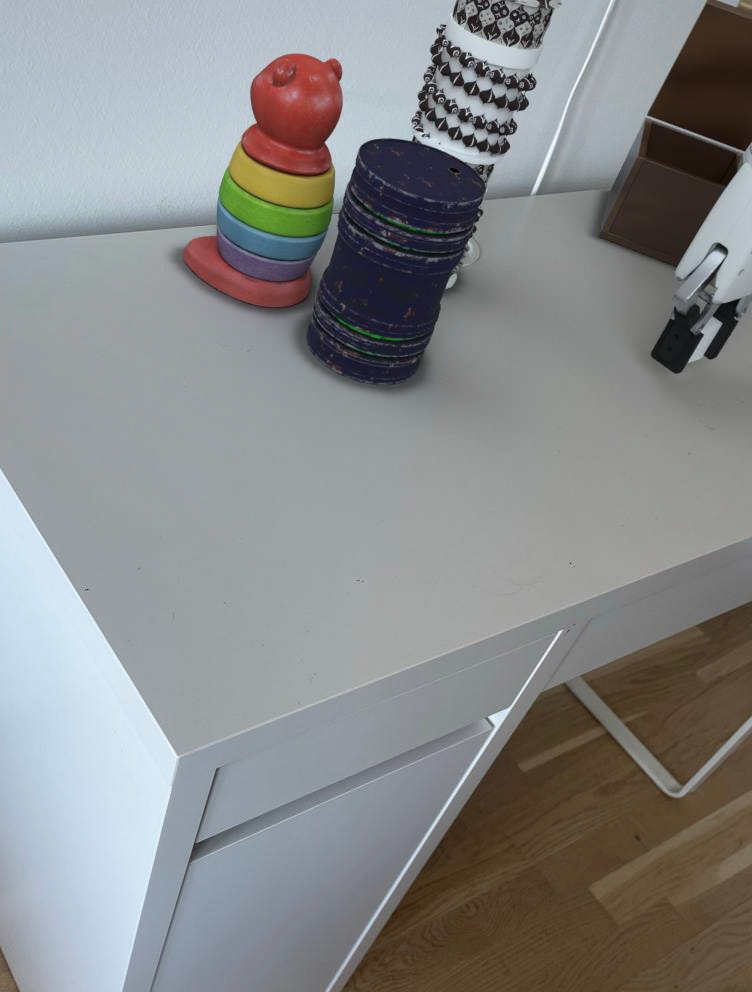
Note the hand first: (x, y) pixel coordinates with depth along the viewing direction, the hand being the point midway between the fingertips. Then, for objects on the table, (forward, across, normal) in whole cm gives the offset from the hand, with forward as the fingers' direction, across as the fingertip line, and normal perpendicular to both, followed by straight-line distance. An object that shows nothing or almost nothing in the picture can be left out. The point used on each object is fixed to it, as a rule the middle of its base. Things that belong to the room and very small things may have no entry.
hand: (683, 356), depth 89 cm
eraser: (+1, 0, 0) cm, 1 cm away
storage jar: (+2, +27, -14) cm, 30 cm away
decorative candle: (+2, +12, -23) cm, 26 cm away
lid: (-12, -28, -22) cm, 38 cm away
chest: (+3, -25, -20) cm, 33 cm away
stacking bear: (+2, +29, -26) cm, 39 cm away
